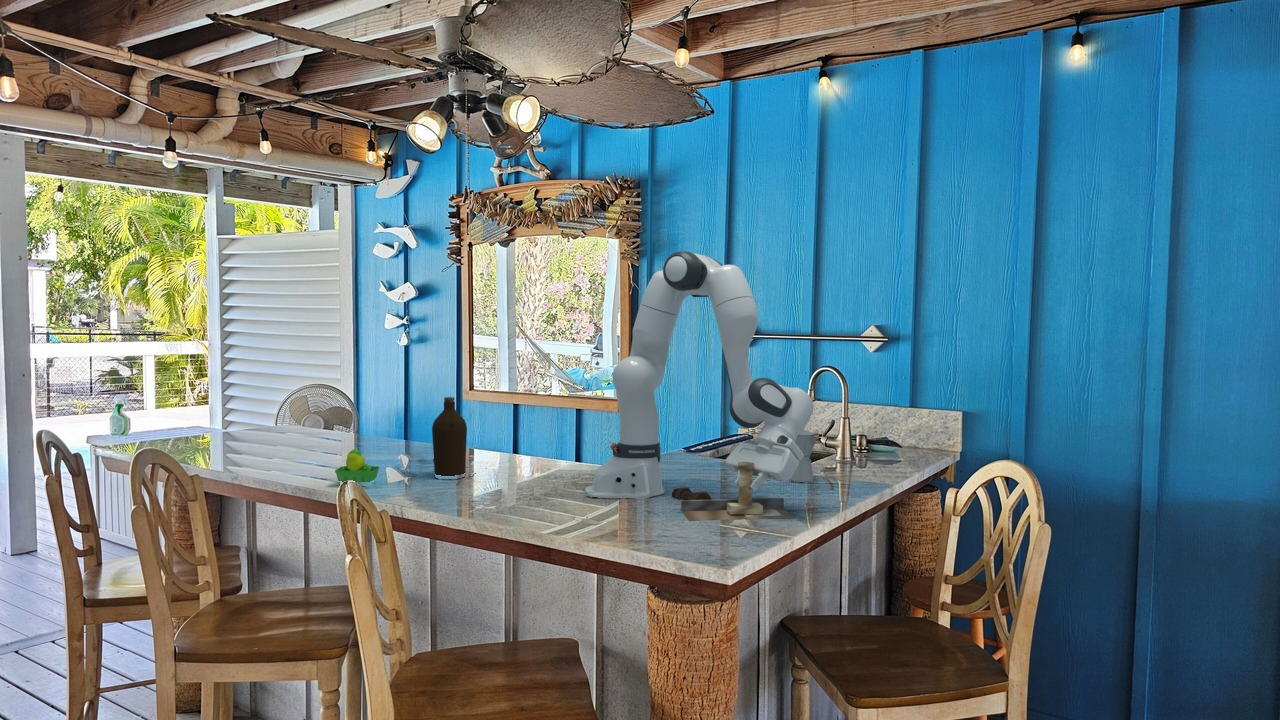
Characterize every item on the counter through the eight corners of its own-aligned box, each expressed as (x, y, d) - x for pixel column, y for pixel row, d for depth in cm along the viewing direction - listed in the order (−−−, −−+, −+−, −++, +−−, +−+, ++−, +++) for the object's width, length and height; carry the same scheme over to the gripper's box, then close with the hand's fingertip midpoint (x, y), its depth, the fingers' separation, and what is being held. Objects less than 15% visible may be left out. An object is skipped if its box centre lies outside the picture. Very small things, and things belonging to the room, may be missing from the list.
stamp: (730, 514, 201) (732, 464, 201) (726, 510, 205) (728, 461, 205) (762, 514, 203) (764, 464, 202) (758, 510, 206) (759, 462, 206)
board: (688, 527, 197) (688, 510, 196) (680, 515, 209) (680, 499, 208) (795, 523, 200) (795, 507, 200) (781, 512, 212) (781, 496, 211)
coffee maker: (824, 480, 255) (824, 421, 254) (814, 484, 248) (815, 424, 247) (778, 475, 263) (778, 418, 262) (767, 479, 255) (768, 421, 255)
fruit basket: (380, 482, 251) (380, 445, 251) (372, 488, 243) (371, 450, 242) (342, 482, 251) (341, 445, 250) (332, 488, 242) (331, 450, 242)
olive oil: (474, 476, 260) (473, 397, 259) (447, 481, 252) (446, 399, 251) (452, 472, 267) (451, 395, 266) (425, 477, 259) (424, 397, 258)
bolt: (678, 507, 227) (705, 516, 213) (664, 499, 225) (690, 508, 211) (688, 487, 228) (715, 496, 214) (673, 479, 226) (700, 488, 212)
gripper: (737, 431, 216) (709, 473, 211) (796, 440, 199) (767, 485, 194) (750, 447, 219) (722, 488, 213) (809, 457, 202) (781, 502, 197)
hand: (744, 487), depth 204 cm, fingers closed on stamp, 3 cm apart
